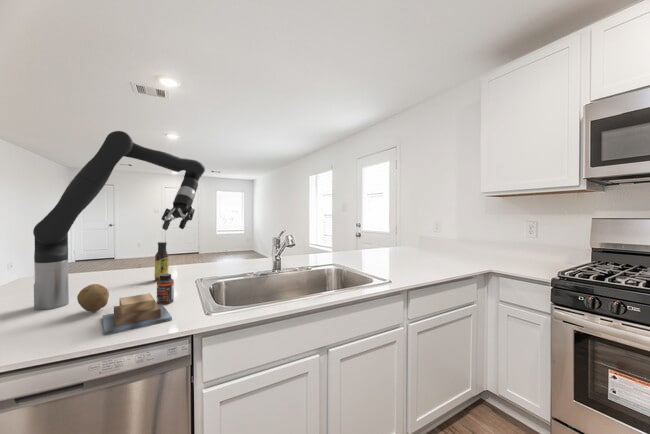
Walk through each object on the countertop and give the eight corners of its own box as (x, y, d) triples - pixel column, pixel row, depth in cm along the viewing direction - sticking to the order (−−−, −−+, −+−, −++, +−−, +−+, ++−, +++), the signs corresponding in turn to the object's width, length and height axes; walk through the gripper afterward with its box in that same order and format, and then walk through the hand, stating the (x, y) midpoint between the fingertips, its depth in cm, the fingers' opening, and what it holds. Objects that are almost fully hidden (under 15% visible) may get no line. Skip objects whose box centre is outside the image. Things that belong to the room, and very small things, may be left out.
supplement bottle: (155, 305, 108) (155, 276, 108) (157, 301, 114) (157, 273, 114) (173, 303, 111) (172, 275, 111) (174, 299, 116) (174, 272, 116)
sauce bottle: (162, 281, 143) (161, 243, 142) (151, 281, 144) (151, 242, 143) (171, 278, 149) (171, 241, 149) (161, 277, 151) (161, 241, 150)
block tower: (104, 334, 83) (104, 311, 83) (102, 318, 96) (102, 298, 95) (172, 319, 95) (171, 299, 95) (162, 306, 107) (162, 288, 107)
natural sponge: (83, 308, 104) (83, 282, 104) (112, 305, 108) (112, 280, 108) (73, 317, 96) (72, 288, 96) (105, 314, 100) (104, 286, 99)
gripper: (166, 194, 129) (152, 225, 120) (192, 192, 125) (180, 223, 117) (177, 203, 135) (165, 233, 126) (202, 201, 131) (192, 231, 123)
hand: (172, 228), depth 122 cm, fingers open, 8 cm apart
